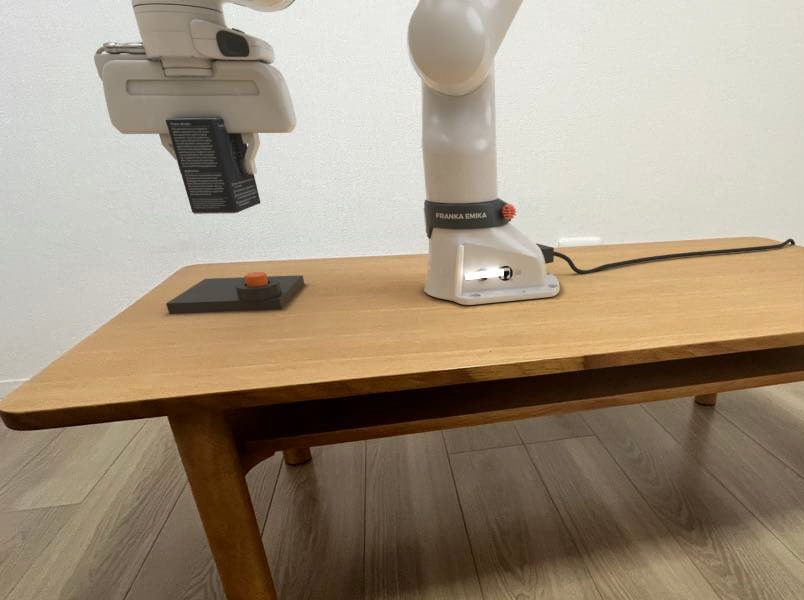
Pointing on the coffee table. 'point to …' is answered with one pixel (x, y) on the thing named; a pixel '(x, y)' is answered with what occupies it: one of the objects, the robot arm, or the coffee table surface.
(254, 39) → the robot arm
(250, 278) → the button
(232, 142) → the box
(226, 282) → the scale
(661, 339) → the coffee table surface
